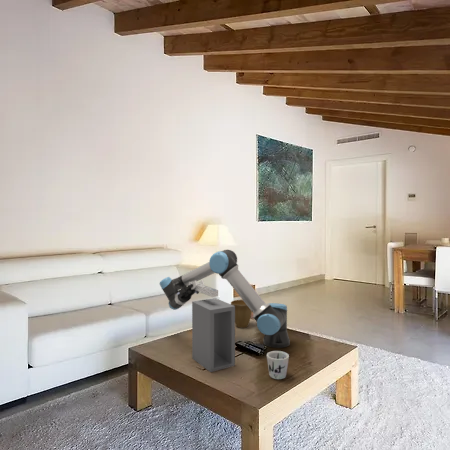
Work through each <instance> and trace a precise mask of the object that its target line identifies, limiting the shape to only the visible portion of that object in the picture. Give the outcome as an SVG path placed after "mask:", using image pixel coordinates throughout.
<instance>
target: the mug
mask: <svg viewBox="0 0 450 450" xmlns="http://www.w3.org/2000/svg"><path fill="white" fill-rule="evenodd" d="M289 355H290V354H289V353H287V352H285V351H281V350H272V351H269V352H267V353H266V361H267V369H268V374H269V377H270V378H272V379H275V380H282V379H285V378H286V377H287V372H288V366H289V359H290V356H289Z"/></svg>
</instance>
